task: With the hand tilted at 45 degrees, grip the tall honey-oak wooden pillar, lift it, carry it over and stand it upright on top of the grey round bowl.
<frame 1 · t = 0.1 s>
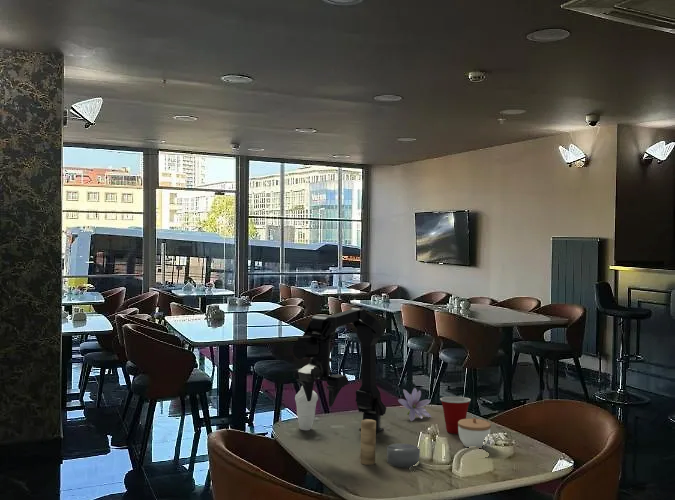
hand: (319, 403, 206), 15 cm above the table, tool pointing down, fingers open, 9 cm apart
plastic cup: (454, 431, 229), on the table
oak pillar: (367, 462, 195), on the table
water lily: (415, 418, 246), on the table
lidded jar: (473, 446, 213), on the table
soft serve ice cream cone: (305, 429, 228), on the table
grey round bowl: (403, 461, 196), on the table
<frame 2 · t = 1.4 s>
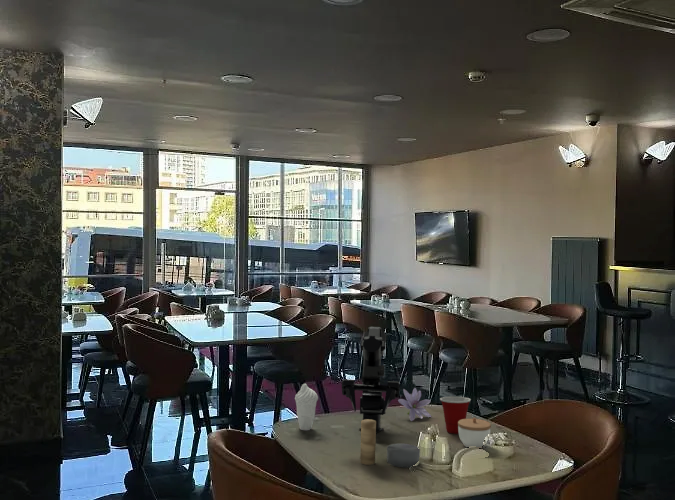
hand: (369, 411, 203), 13 cm above the table, tool tilted 45°, fingers open, 9 cm apart
nothing on the table moved.
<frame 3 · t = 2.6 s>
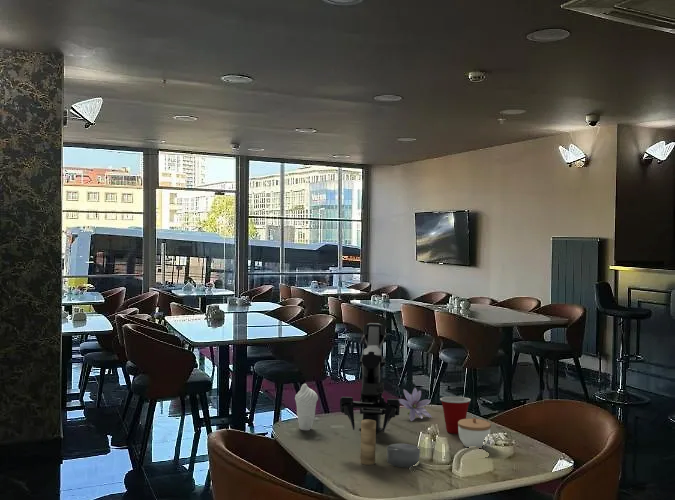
hand: (368, 430, 197), 9 cm above the table, tool tilted 45°, fingers open, 9 cm apart
nothing on the table moved.
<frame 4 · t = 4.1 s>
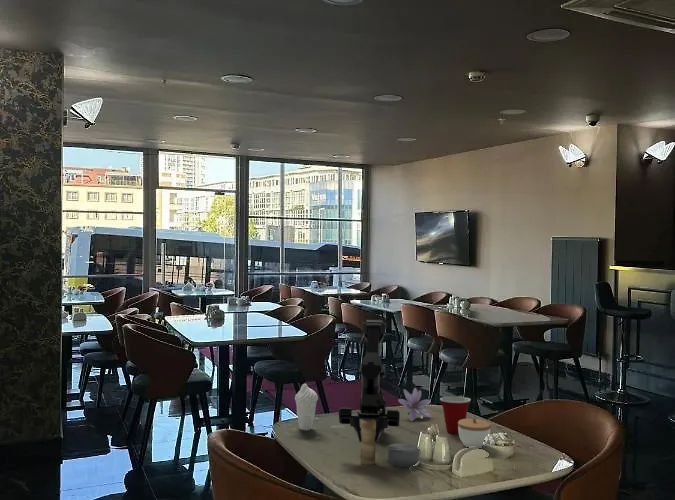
hand: (368, 442, 194), 7 cm above the table, tool tilted 45°, fingers closed on oak pillar, 4 cm apart
oak pillar: (367, 462, 195), on the table, touching gripper
everything else where it was.
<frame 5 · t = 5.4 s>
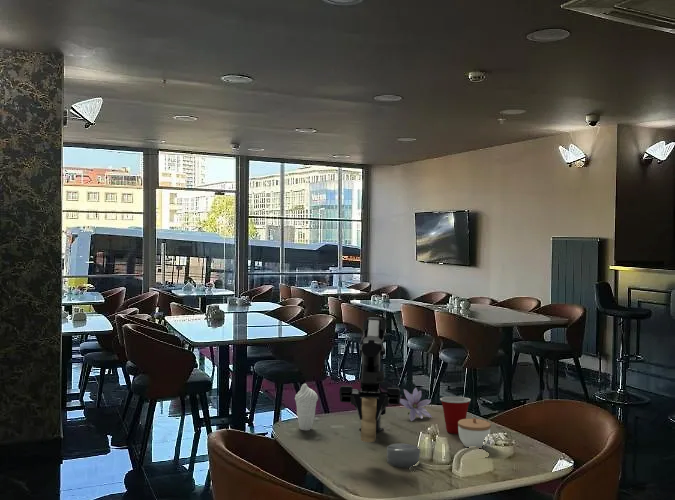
hand: (368, 419, 193), 13 cm above the table, tool tilted 45°, fingers closed on oak pillar, 4 cm apart
oak pillar: (368, 439, 195), point 7 cm above the table, touching gripper
everything else where it was.
when the fingers open (12 cm above the table, at t = 7.0 s): oak pillar drops 1 cm, resting on grey round bowl.
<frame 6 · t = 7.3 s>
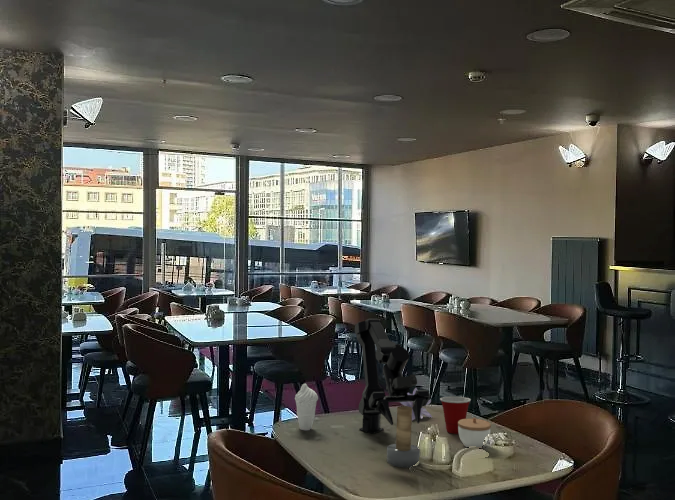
hand: (405, 423, 195), 12 cm above the table, tool tilted 45°, fingers open, 8 cm apart
oak pillar: (403, 448, 196), point 4 cm above the table, touching grey round bowl
everything else where it was.
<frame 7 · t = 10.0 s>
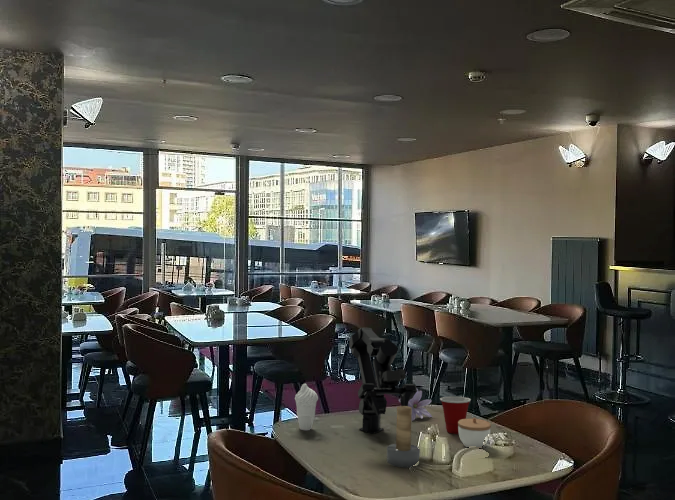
hand: (392, 415, 204), 12 cm above the table, tool tilted 40°, fingers open, 9 cm apart
nothing on the table moved.
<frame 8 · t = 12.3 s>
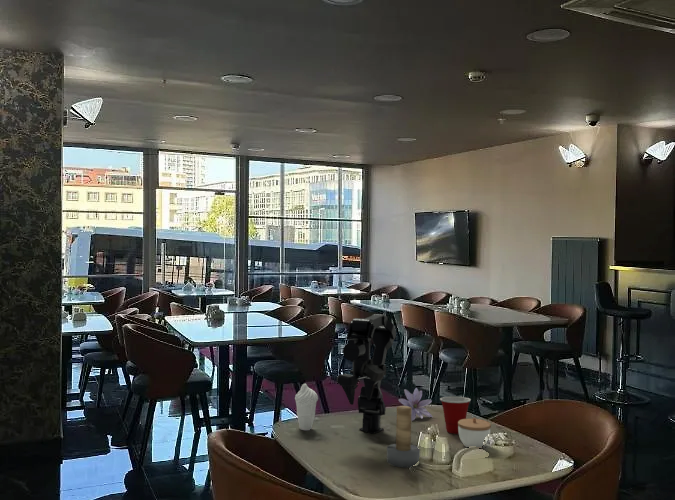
hand: (360, 402, 216), 13 cm above the table, tool pointing down, fingers open, 9 cm apart
nothing on the table moved.
at the end: oak pillar 0.1 cm off-centre on the grey round bowl, point 4.0 cm above the grey round bowl's base; oak pillar tilted 0°; the gripper is holding nothing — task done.
